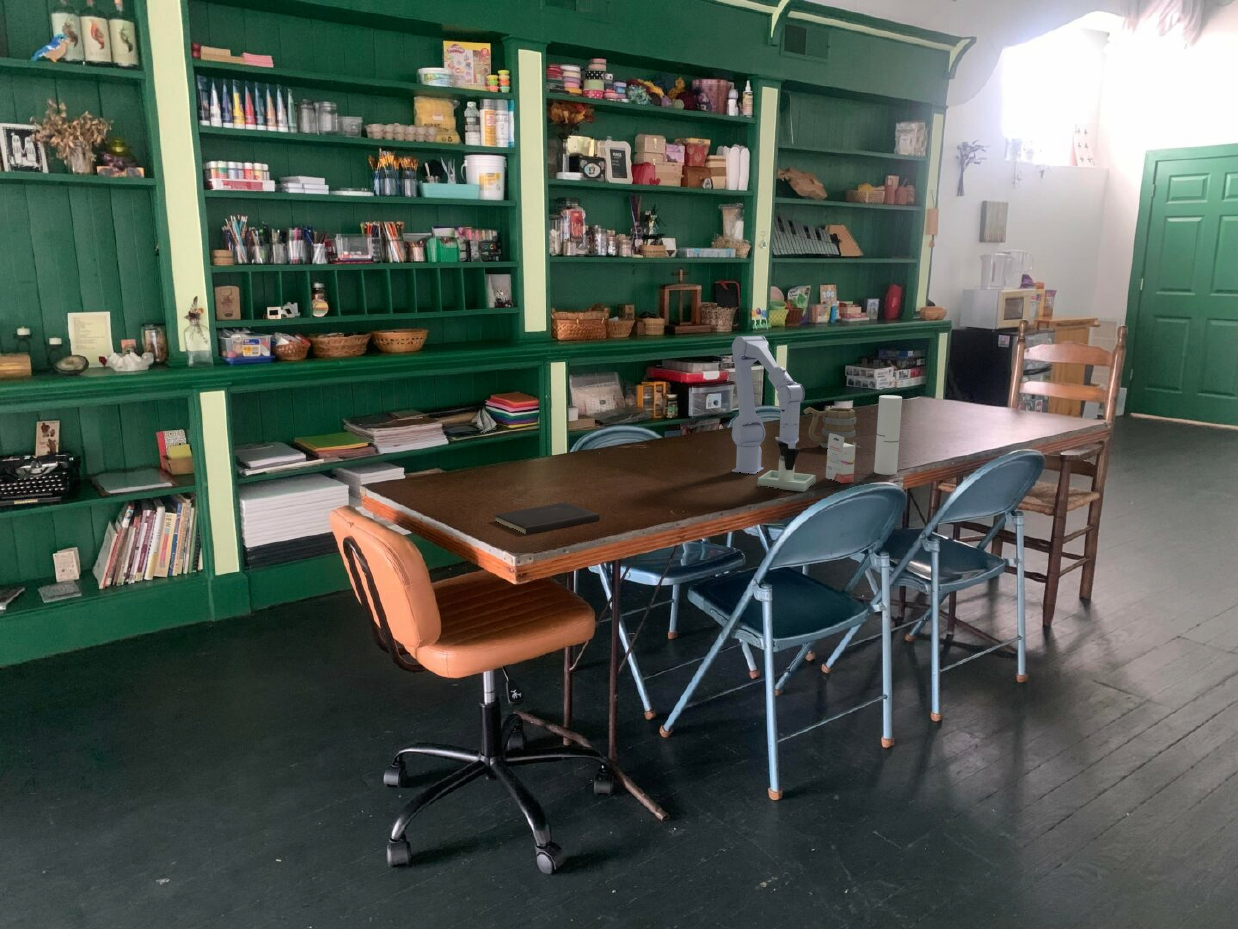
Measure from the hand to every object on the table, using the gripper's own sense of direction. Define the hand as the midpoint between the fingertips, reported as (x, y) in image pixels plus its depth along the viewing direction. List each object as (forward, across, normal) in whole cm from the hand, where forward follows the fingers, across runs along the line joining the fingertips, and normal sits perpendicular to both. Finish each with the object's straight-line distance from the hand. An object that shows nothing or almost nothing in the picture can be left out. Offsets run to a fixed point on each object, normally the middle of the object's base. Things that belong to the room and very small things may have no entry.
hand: (787, 467), depth 288 cm
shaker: (+5, 0, 0) cm, 5 cm away
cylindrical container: (+6, -19, +35) cm, 40 cm away
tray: (+6, 0, 0) cm, 6 cm away
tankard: (+6, -62, +24) cm, 66 cm away
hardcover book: (+6, +45, -69) cm, 83 cm away
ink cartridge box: (+6, -7, +18) cm, 20 cm away
